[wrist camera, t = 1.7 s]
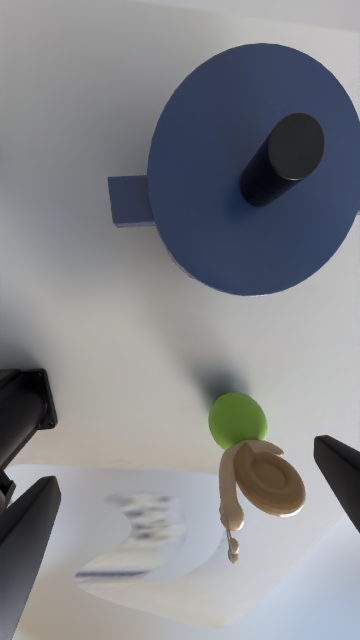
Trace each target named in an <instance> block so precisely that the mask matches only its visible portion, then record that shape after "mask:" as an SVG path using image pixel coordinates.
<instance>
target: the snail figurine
mask: <svg viewBox="0 0 360 640" xmlns="http://www.w3.org/2000/svg"><path fill="white" fill-rule="evenodd" d="M209 428H210V431H211V434H212V436H213V438H214V440H215V441H216V443H217V444H218V445H219V446H220V447H221V448H222V449H223V450H225V452H224V454H223V456H222V458H221V462H220V468H219V490H220V499H221V504H220V509H219V511H220V515H221V518H220V520H221V522H222V524H223V525H224V527H225V528H226V530H227V537H228V544H229V550H228V556H229V559H230V561H231V562H232V563H233V564H235V563H237V561H238V551H239V545H238V542H237V540H236V539H234V538H232V537H231V534H230V531H232V532H235V531H238V530H239V529H240V528H241V527H242V526H243V523H244V514H243V510H242V508H241V506H240V504H239V503H238V499H237V491H236V482H237V484H238V486H239V488H240V490H241V491H242V493H243V494H244V496H245V497H246V498H247V499H248V500H249V501H250V502H251V503H252V504H253V505H255V506H256V507H257V508H259V509H260V510H262V511H264V512H266V513H268V514H270V515H274V516H279V517H288V516H292V515H294V514H296V513H297V512H299V511H300V510H301V508H302V507H303V505H304V502H305V488H304V484H303V481H302V479H301V477H300V476H299V474H298V473H297V471H296V470H295V469H294V468H293V466H292V465H290V464H289V463H288V462H287V461H285V460H284V459H282V458H281V457H279V456H282V455H283V454H284V452H283V450H281V449H280V448H279V447H277V446H275V445H274V444H272V443H269V442H267V441H265V439H266V435H267V421H266V417H265V415H264V412H263V410H262V409H261V407H260V406H259V405H258V403H257V402H256V401H255V400H253V399H252V398H251V397H249V396H247V395H245V394H242V393H237V392H231V393H227V394H224V395H222V396H220V397H219V398H218V399H217V400H216V401H215V402H214V403H213V405H212V407H211V409H210V412H209ZM228 531H229V536H230V540H229V536H228Z"/></svg>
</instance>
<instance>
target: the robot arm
mask: <svg viewBox="0 0 360 640" xmlns="http://www.w3.org/2000/svg"><path fill="white" fill-rule="evenodd" d="M38 373H40V374H41V376H40V375H39V374H38ZM50 422H51V423H52V424H51V423H50ZM56 425H57V417H56V413H55V409H54V404H53V400H52V395H51V391H50V387H49V382H48V378H47V373H46V371H45V370H43V369H32V370H20V369H8V370H0V640H12V637H13V635H14V632H15V630H16V627H17V625H18V622H19V619H20V617H21V614H22V612H23V609H24V607H25V604H26V602H27V599H28V597H29V594H30V592H31V589H32V587H33V584H34V581H35V579H36V576H37V574H38V571H39V568H40V565H41V562H42V559H43V556H44V553H45V550H46V546H47V543H48V540H49V537H50V534H51V531H52V527H53V525H54V521H55V518H56V515H57V512H58V509H59V505H60V502H61V492H60V489H59V485H58V482H57V479H56V477H55V476H47V477H42V478H40V479H39V480H38V481H37V482H36V483H35V484H34V485H32V486H31V487H30V488H29V489H28V490H27V491H26V492H25V493H23V495H21V496H20V497H19V498H18V499H17V500H16V501H15V502H14V503H12V504H11V505H10V506H9V507H8V508H7V506H8V504H9V501H10V499H11V497H12V495H13V492H14V490H15V488H16V485H15V483H14V481H13V480H10V479H9V478H8V476H7V475H6V474H5V472H4V471H3V470H4V469H5V468H6V467H7V466H8V464H9V463H10V462H11V461H12V460H13V459H14V457H15V456H16V455H17V454H18V453H19V452H20V450H21V449H22V448H23V447H24V446H25V444H26V443H27V442H28V441H29V440H30V439H31V437H32V436H33V435H34V434H35V433H36V431H37V430H45V429H52V428H54V427H55V426H56ZM314 459H315V462H316V464H317V465H318V467H319V469H320V470H321V472H322V474H323V475H324V477H325V479H326V480H327V482H328V484H329V485H330V487H331V489H332V490H333V492H334V494H335V495H336V497H337V499H338V500H339V502H340V504H341V505H342V507H343V509H344V510H345V512H346V513H347V515H348V516H349V518H350V520H351V521H352V523H353V524H354V526H355V527H356V529H357V530H358V531H359V533H360V452H359V451H357V450H355V449H353V448H351V447H349V446H348V445H346V444H344V443H342V442H340V441H338V440H336V439H334V438H332V437H331V436H328V435H322V436H316V437H315V439H314ZM6 508H7V509H6Z"/></svg>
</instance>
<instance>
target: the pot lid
mask: <svg viewBox="0 0 360 640" xmlns="http://www.w3.org/2000/svg"><path fill="white" fill-rule="evenodd" d="M147 182H148V195H149V201H150V207H151V211H152V215H153V219H154V222H155V225H156V228H157V230H158V232H159V235H160V237H161V239H162V241H163V243H164V244H165V246H166V248H167V250H168V251H169V253H170V254H171V255H172V257H173V258H174V259H175V261H176V262H177V263H178V264H179V265H180V266H181V267H182V268H183V269H184V270H185V271H186V272H187V273H188V274H190V275H191V276H192V277H193V278H195V279H196V280H198V281H199V282H201V283H203V284H204V285H206V286H208V287H211V288H213V289H215V290H218V291H221V292H225V293H228V294H232V295H240V296H262V295H269V294H273V293H277V292H280V291H283V290H286V289H288V288H291V287H293V286H295V285H297V284H299V283H300V282H302V281H304V280H306V279H307V278H308V277H310V276H311V275H313V274H314V273H315V272H317V271H318V270H319V269H320V268H321V267H322V266H323V265H324V264H325V263H326V262H327V261H328V260H329V259H330V258H331V257H332V256H333V254H334V253H335V252H336V251H337V250H338V248H339V247H340V245H341V244H342V242H343V241H344V239H345V238H346V236H347V234H348V232H349V230H350V228H351V226H352V224H353V222H354V219H355V217H356V214H357V212H358V209H359V205H360V121H359V118H358V115H357V113H356V110H355V108H354V106H353V103H352V101H351V99H350V98H349V96H348V94H347V93H346V91H345V89H344V88H343V86H342V85H341V84H340V83H339V81H338V80H337V79H336V78H335V76H334V75H333V74H332V73H331V72H330V71H329V70H327V69H326V68H325V67H324V66H323V65H322V64H321V63H319V62H318V61H316V60H315V59H313V58H312V57H310V56H309V55H307V54H305V53H303V52H300V51H298V50H296V49H294V48H290V47H286V46H282V45H278V44H267V43H258V44H247V45H242V46H239V47H235V48H231V49H228V50H226V51H224V52H222V53H219V54H217V55H215V56H213V57H212V58H210V59H209V60H207V61H206V62H204V63H202V64H201V65H200V66H198V67H197V68H196V69H195V70H194V71H193V72H192V73H191V74H189V75H188V76H187V77H186V78H185V80H184V81H183V82H182V83H181V84H180V85H179V87H178V88H177V89H176V90H175V92H174V93H173V95H172V96H171V98H170V99H169V101H168V102H167V104H166V106H165V108H164V110H163V112H162V114H161V116H160V118H159V120H158V123H157V126H156V129H155V132H154V135H153V138H152V142H151V147H150V152H149V158H148V169H147Z"/></svg>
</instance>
